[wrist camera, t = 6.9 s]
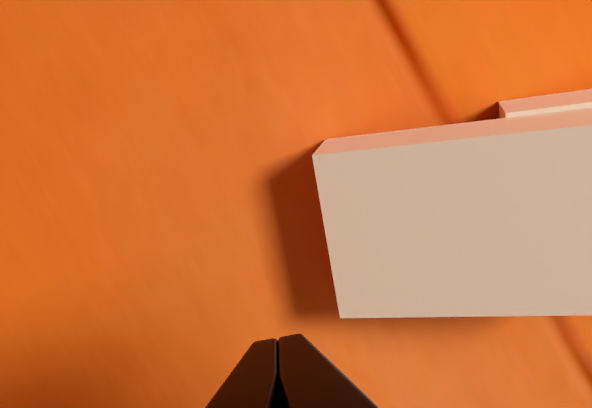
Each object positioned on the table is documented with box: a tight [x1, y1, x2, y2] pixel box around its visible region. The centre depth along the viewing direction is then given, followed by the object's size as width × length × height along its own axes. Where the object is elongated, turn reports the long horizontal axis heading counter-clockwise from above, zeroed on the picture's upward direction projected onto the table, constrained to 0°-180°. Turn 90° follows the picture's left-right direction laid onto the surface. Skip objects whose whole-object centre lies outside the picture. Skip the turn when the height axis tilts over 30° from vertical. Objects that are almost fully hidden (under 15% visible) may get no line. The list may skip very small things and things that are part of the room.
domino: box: [312, 108, 592, 318], centre depth 14 cm, size 2×5×9 cm
